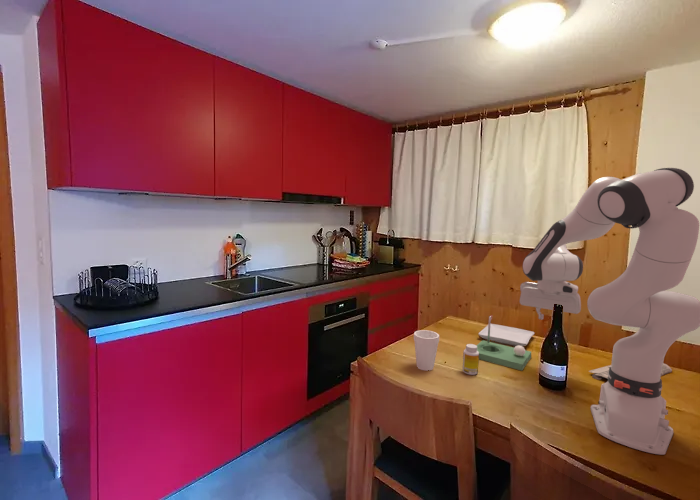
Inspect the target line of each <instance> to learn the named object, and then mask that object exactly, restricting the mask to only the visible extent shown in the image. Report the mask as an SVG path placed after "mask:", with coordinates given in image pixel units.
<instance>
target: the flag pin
mask: <svg viewBox="0 0 700 500" xmlns="http://www.w3.org/2000/svg"><path fill="white" fill-rule="evenodd" d="M492 320H493V314H491V315H489V316H488V324H487V325H488V340H487V339H486V341H487V343H489V342H490V340H489V339H490V324H492V323H491V321H492Z"/></svg>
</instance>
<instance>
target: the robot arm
mask: <svg viewBox="0 0 700 500" xmlns="http://www.w3.org/2000/svg"><path fill="white" fill-rule="evenodd" d="M694 189H695V184H694V180H693V178H692V176H691V175H690V174H689V173H688V172H687V171H685V170H683V169H682V168H677V167H661V168H656V169H654V170H650V171H646V172H642V173H641V172H640V173H636V174H633V175H631V176H627V177H625V178H623V179H621V178H618V177H614V176H603V177H600V178H597V179H596V180H594V181H593V182H592V183H591V184H590V185H589V187H588V188H587V189H586V190H585V192H584V193H583V194H582V195H581V197H580V199H579V200H578V202H577V204H576V206H575V207H574V208H573V210H572V211H570V212H569V213H568V214H567V215H566V216H565V217H563V218H561V219H560V220H558V221H556V222H555V223H553V224H552V226H551V227H550V228H548V230H547V231H546V233H545V234H544V235H543V237H542V238H541V239H540V241H539V242H538V244H537V245H535V247H534V248H533V250H531V251H530V252H529V253H528V254H527V255H526V256H525V258H524V259H523V262H522V271H523V274H524V275H525V277H527V278H528V279H529V280H531V281H532V282H529V281H524V282H522V283H520V287H519V288H520V296H519V304H520V305H521V306H526V307H530V308H531V307H532V308H535V311H536V313H537V316H538V319H539V320H544V316H545V315H544V314H543V313H542V312H541V310H542V309H543V310H544V309H545V310H550V311H551V310H552V311H554V310H553V307H554V304H561V305H562V306H563V313H568V314H569V313H570V314H574V315H577V314H579V313H580V312H581V310H582V301H581V296H580V293H578V291H579V286H578V285H577V284H574V283H571V282H572V281H577V280H578V279H579V278H580V277H581V276H582V274H583V272H584V262H583V260H582V259H581V258H580V257H579V256H578V255H577V254H574V253H572V252H570V251H569V249H568V248H567V244H572V243H576V242H577V243H578V242H583V241H589V240H595V239H599V238H601V237H603V236H604V235H606V234H607V233H608V232H609V231H610V230H611V229H612V228H614V226H615V224H620V225H621V226H623V227H624V228H626V229H630V230H631V229H632V230H633V229H637V228H638V229H639V232H638V233H639V234H638V237H637V238H638V239H637V241H636V244H635V247H634V250H633V253H632V255H631V258H630V261H629V264H628V265H627V268H626V269H625V270H624V271H623V273H622V274H620V275H619V276H618V277H617V278H616V279H614V280H612V281H611V282H609V283H606V284H605V285H603V286H599V287H597V288H595V289H594V290H592V292H590V294H589V295H588V298H587V301H586V302H587V310H588V312H589V314H590V315H591V316H592V317H593V319H594V320H596V321H600V322H603V323H606V324H610V325H613V326H620V327H621V326H622V327H630V328H638V330H637V331H636V332H635V333H633V334H632V335H630V336H627V337H623V338H620V339H618V340H617V341H616V342H615V343H614V344H613V347H612V348H613V349H612V357H611V364H610V365H611V367H610V368H609V372H608V378H607V381H606V382H603V383H601V384H600V385H601V386H600V394H599V400H598V402H597V404H591V405H590V411H591V415H592V417H593V422H594V424H595V427H596V430H597V433H598V434H600V435H601V436H603V437H604V438H607V439H609V440H610V441H612V442H615V443H618V444H621V445H623V446H627V447H629V448H632V449H635V450H637V451H638V450H639V451H642V452H646V453H649V454H655V455H666V453H667V450H668V448H669V444H670V443H671V440H672V438H673V436H674V429H673V427H671V426H670V420H669V419H665V417H666V416H668V415H669V410H668V409H666V407H667V400H666V399H665V398H664V397H662V396H663V395H661V394H662V390H663V380H662V378H661V377H662V376H661V371H662V365H663V363H664V360H665V356H666V354H667V352H668V350H669V348H670V347H671V346H672V345H673V344H674V343H675V342H676V341H677V340H679V338H681V337H682V336H684V335H687V334H688V333H691V332H694V331H696V330H697V329H699V328H700V300H698V298H697V297H695V296H693V295H689V294H686V293H682V292H678V291H672V290H671V289H673V288H675V287H676V286H678V285H679V284H681V283H682V281H683V279H684V277H685V275H686V274H687V270H688V267H689V265H690V263H691V260H692V258H693V255H694V254H695V250H696V247H697V243H698V239H699V234H700V232H699V231H700V222H699V219H698V218H697V216H696V215H695V214H693V213H692V212H690V211H688V210H685V209H682V208H681V209H680V208H679V206H680V205H683V203H685V202H686V201H688V199H689V198H691V196H692V194H693V192H694ZM551 320H553V317H552V318H551Z"/></svg>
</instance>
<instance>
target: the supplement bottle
mask: <svg viewBox="0 0 700 500" xmlns="http://www.w3.org/2000/svg"><path fill="white" fill-rule="evenodd" d="M476 345H477V344H473V343H467V344H466V346H465V349H464V350H463V352H462V353H463V354H462V355H463V356H462V372H463V373H465V374H467V375H470V376H475V375H477V374H479V363H480V359H479V352H478V351H477V346H476Z"/></svg>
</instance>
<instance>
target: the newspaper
mask: <svg viewBox="0 0 700 500" xmlns="http://www.w3.org/2000/svg"><path fill="white" fill-rule="evenodd" d="M610 367H611V364H610V365H605V366H602V367H599V368H595V369H591V370H588V372H589V373H593V374H592V378H593V379H596V380H599V381H601V380H603V379H608V372H609V368H610ZM672 371H673V369H672V367H670V366H669V365H668V364H666V363H664V362H663V365H662V371H661V377H662V376H664V375H667V374H669V373H672Z"/></svg>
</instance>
